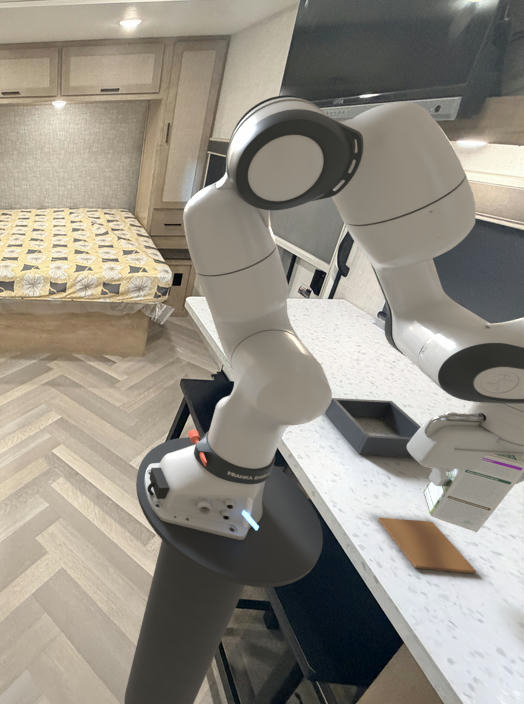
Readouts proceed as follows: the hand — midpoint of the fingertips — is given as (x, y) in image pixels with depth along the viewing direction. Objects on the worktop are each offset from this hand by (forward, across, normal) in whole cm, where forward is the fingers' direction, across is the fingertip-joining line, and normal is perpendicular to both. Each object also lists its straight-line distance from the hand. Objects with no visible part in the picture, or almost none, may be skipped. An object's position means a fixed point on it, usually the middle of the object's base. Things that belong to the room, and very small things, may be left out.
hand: (467, 484), depth 62 cm
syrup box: (+6, 0, 0) cm, 6 cm away
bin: (+15, +9, +28) cm, 33 cm away
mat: (+15, 0, 0) cm, 15 cm away
